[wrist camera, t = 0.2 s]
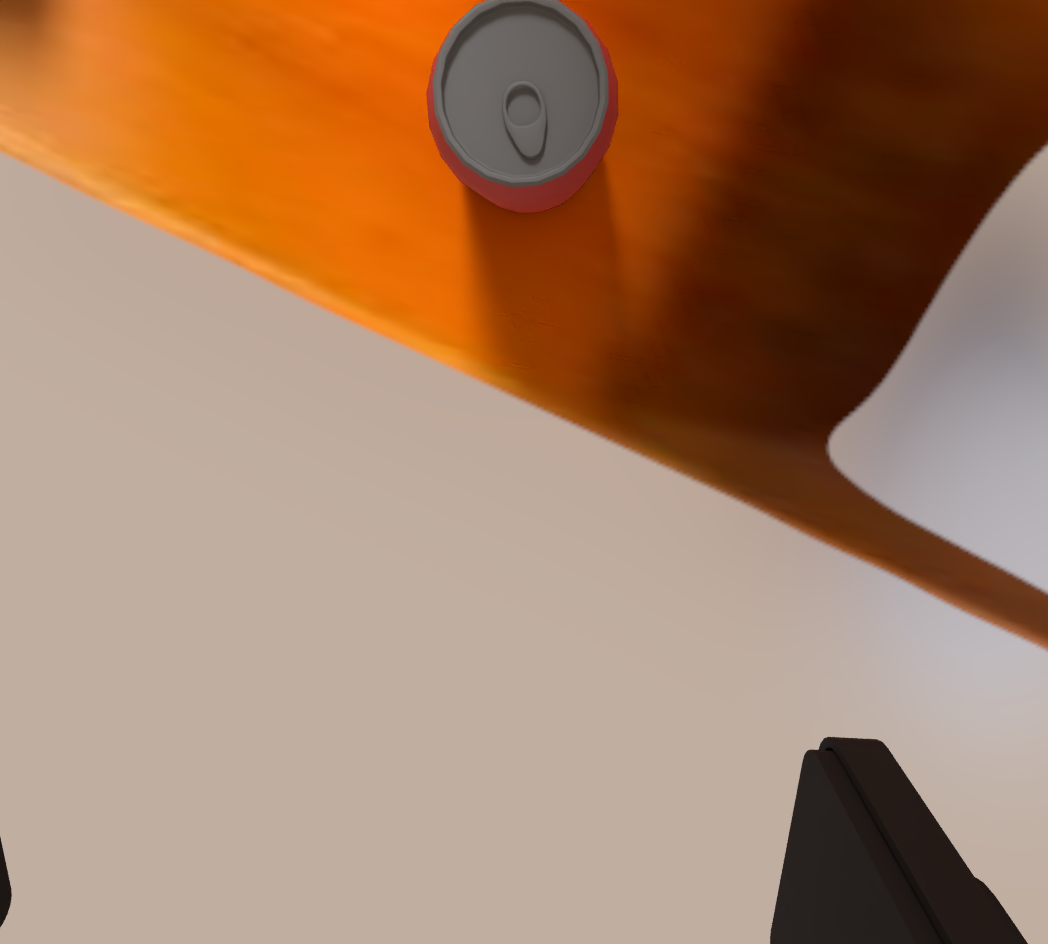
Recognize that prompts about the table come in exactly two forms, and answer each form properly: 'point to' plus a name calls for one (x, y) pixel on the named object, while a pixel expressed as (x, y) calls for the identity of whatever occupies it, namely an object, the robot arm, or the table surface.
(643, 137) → the table surface
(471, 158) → the beer can
